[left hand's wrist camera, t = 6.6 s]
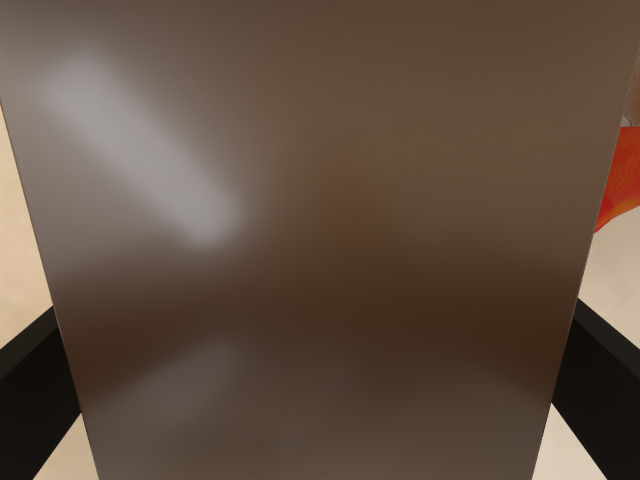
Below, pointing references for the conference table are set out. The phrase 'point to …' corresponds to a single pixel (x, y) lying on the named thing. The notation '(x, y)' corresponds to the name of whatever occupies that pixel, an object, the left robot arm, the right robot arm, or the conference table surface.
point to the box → (315, 223)
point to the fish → (622, 176)
